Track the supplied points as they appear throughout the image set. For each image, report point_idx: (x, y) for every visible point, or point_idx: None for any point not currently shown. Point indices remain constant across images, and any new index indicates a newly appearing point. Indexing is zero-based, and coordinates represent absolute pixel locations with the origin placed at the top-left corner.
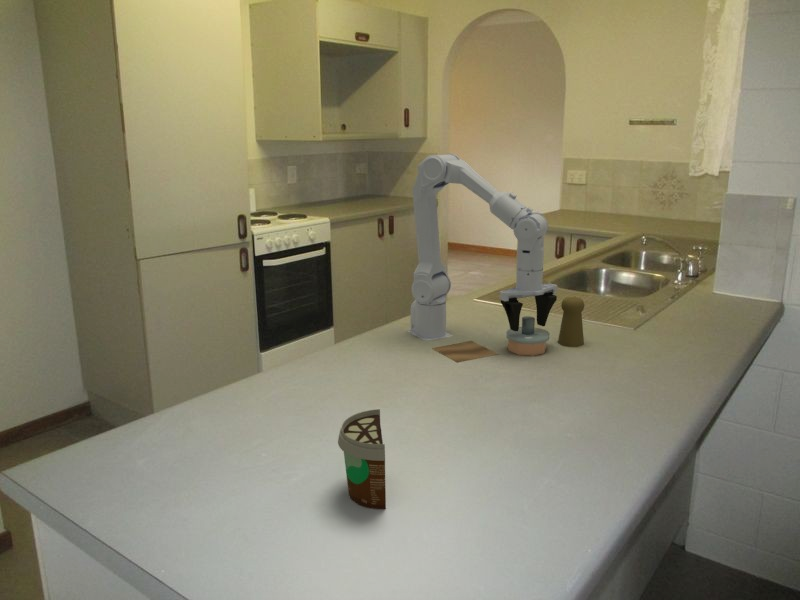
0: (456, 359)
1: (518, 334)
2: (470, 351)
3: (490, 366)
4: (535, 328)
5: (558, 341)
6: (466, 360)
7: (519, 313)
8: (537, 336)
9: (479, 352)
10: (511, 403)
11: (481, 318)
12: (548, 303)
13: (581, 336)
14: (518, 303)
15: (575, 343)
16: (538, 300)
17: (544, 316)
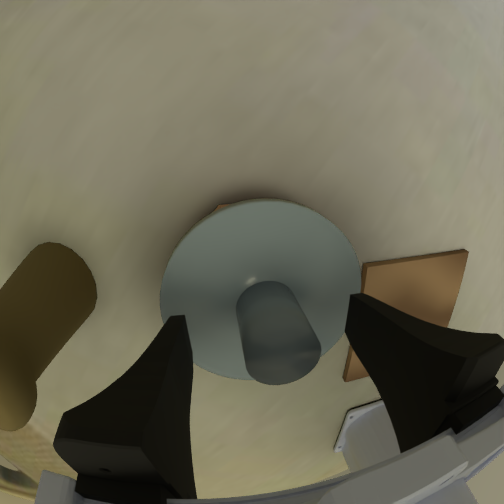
0: (459, 269)
1: (319, 302)
2: (406, 312)
3: (427, 199)
4: (192, 347)
5: (93, 304)
6: (452, 254)
7: (416, 335)
8: (260, 242)
9: (397, 297)
10: (471, 13)
11: (208, 474)
12: (152, 406)
13: (23, 262)
14: (492, 355)
15: (54, 249)
16: (186, 466)
17: (175, 349)
